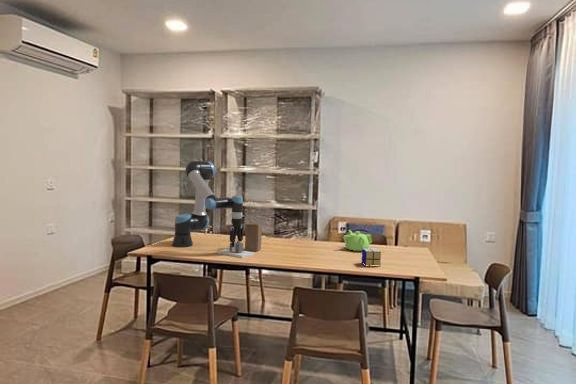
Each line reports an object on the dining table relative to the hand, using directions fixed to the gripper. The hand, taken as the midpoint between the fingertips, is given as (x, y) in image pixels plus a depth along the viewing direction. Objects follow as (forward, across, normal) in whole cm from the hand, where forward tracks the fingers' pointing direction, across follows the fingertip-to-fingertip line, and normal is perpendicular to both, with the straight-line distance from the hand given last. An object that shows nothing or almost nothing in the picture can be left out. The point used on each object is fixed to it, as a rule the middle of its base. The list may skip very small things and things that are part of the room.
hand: (236, 250), depth 304 cm
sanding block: (+1, 0, 0) cm, 1 cm away
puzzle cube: (+3, +30, -88) cm, 93 cm away
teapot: (+3, +73, -61) cm, 95 cm away
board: (+2, 0, +1) cm, 2 cm away
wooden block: (+3, +19, -1) cm, 19 cm away
